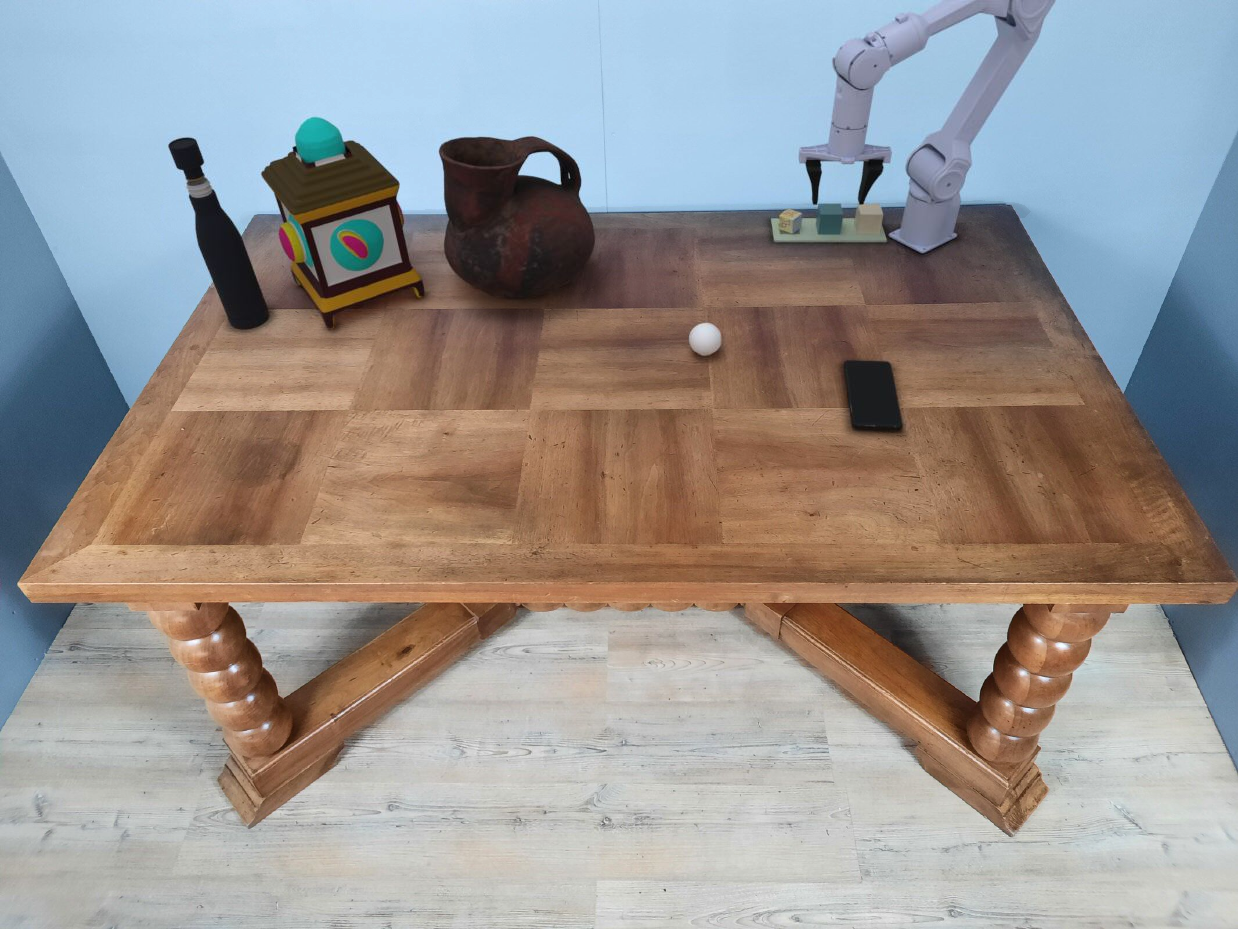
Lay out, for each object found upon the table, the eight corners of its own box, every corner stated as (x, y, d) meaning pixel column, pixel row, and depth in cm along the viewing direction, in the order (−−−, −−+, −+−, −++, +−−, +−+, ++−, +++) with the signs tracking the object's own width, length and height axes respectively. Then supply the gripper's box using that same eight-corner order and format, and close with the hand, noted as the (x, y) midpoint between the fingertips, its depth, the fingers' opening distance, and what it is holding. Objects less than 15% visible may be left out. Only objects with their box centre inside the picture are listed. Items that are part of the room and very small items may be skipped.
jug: (618, 300, 146) (613, 156, 129) (472, 337, 140) (446, 191, 123) (569, 231, 163) (558, 95, 146) (437, 261, 157) (409, 123, 140)
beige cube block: (876, 223, 161) (879, 203, 159) (879, 234, 158) (883, 214, 156) (854, 223, 162) (857, 203, 159) (857, 234, 159) (860, 214, 156)
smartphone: (852, 426, 121) (843, 359, 132) (851, 430, 122) (842, 363, 132) (903, 427, 120) (890, 360, 131) (902, 432, 121) (889, 365, 132)
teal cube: (837, 223, 162) (840, 203, 159) (840, 234, 159) (843, 214, 156) (815, 223, 162) (818, 203, 159) (817, 234, 159) (820, 214, 156)
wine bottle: (258, 331, 143) (190, 153, 122) (222, 327, 144) (149, 151, 123) (276, 308, 148) (214, 134, 127) (242, 305, 149) (174, 131, 128)
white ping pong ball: (724, 346, 137) (726, 319, 133) (715, 364, 133) (717, 338, 130) (693, 340, 138) (694, 314, 134) (684, 358, 135) (685, 332, 131)
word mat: (879, 219, 163) (879, 217, 163) (886, 242, 157) (887, 239, 157) (770, 220, 164) (771, 217, 164) (774, 242, 158) (774, 239, 158)
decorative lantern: (392, 248, 161) (353, 81, 140) (437, 298, 149) (401, 123, 128) (285, 283, 153) (227, 112, 132) (323, 338, 141) (265, 159, 120)
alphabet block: (792, 234, 159) (793, 219, 157) (777, 229, 161) (779, 214, 158) (801, 228, 161) (803, 212, 159) (786, 222, 162) (788, 207, 160)
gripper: (805, 133, 136) (796, 213, 146) (900, 133, 136) (884, 213, 145) (801, 114, 141) (792, 193, 151) (893, 114, 141) (878, 193, 150)
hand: (837, 201), depth 148 cm, fingers open, 7 cm apart
